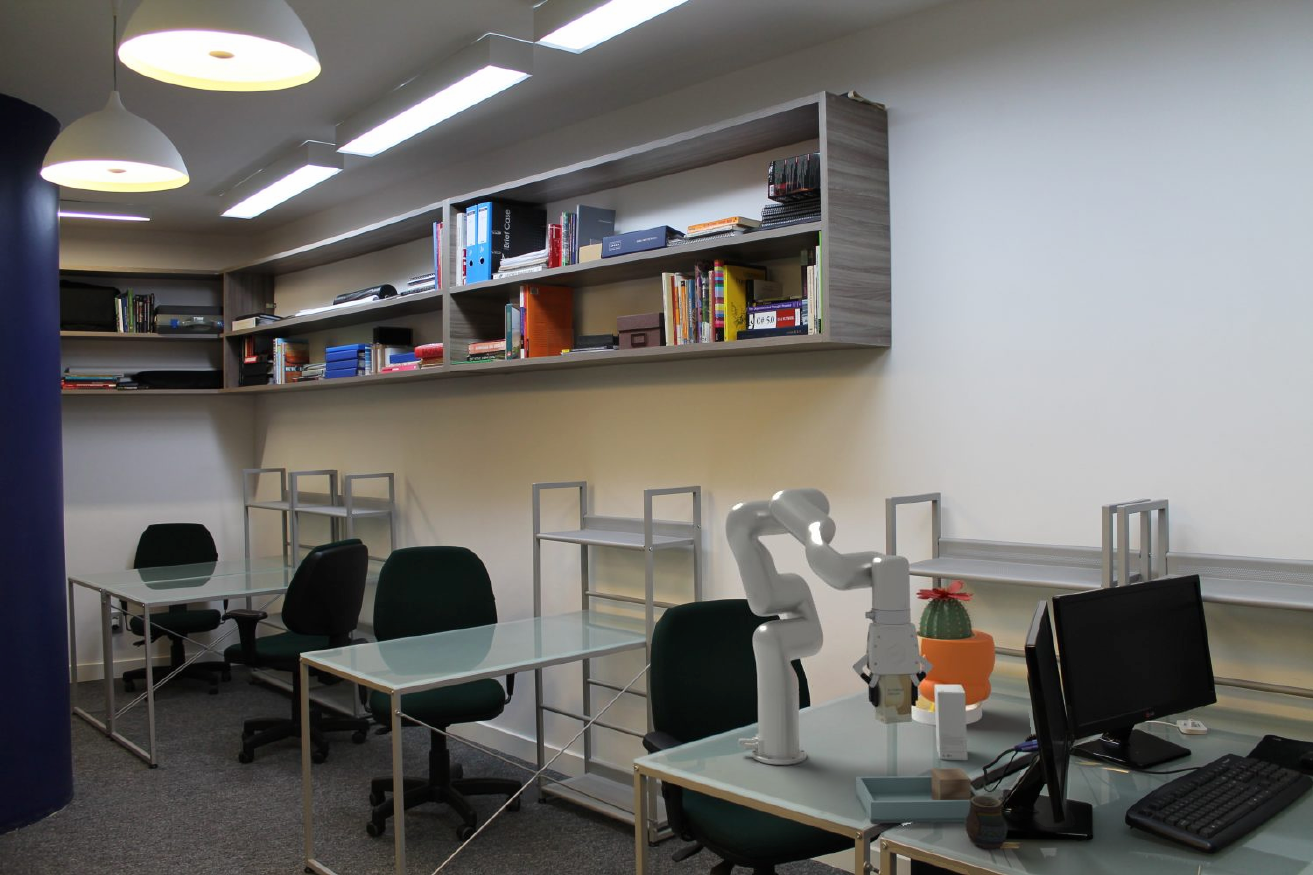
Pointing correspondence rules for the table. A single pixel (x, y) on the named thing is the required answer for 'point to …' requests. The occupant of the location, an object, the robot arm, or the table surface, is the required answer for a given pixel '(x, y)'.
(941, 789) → the walnut block
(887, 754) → the table surface
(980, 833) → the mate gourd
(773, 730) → the robot arm
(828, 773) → the table surface
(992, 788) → the table surface
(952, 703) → the skincare box
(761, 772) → the table surface
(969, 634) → the potted cactus
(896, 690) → the skincare box
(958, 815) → the teal tray
